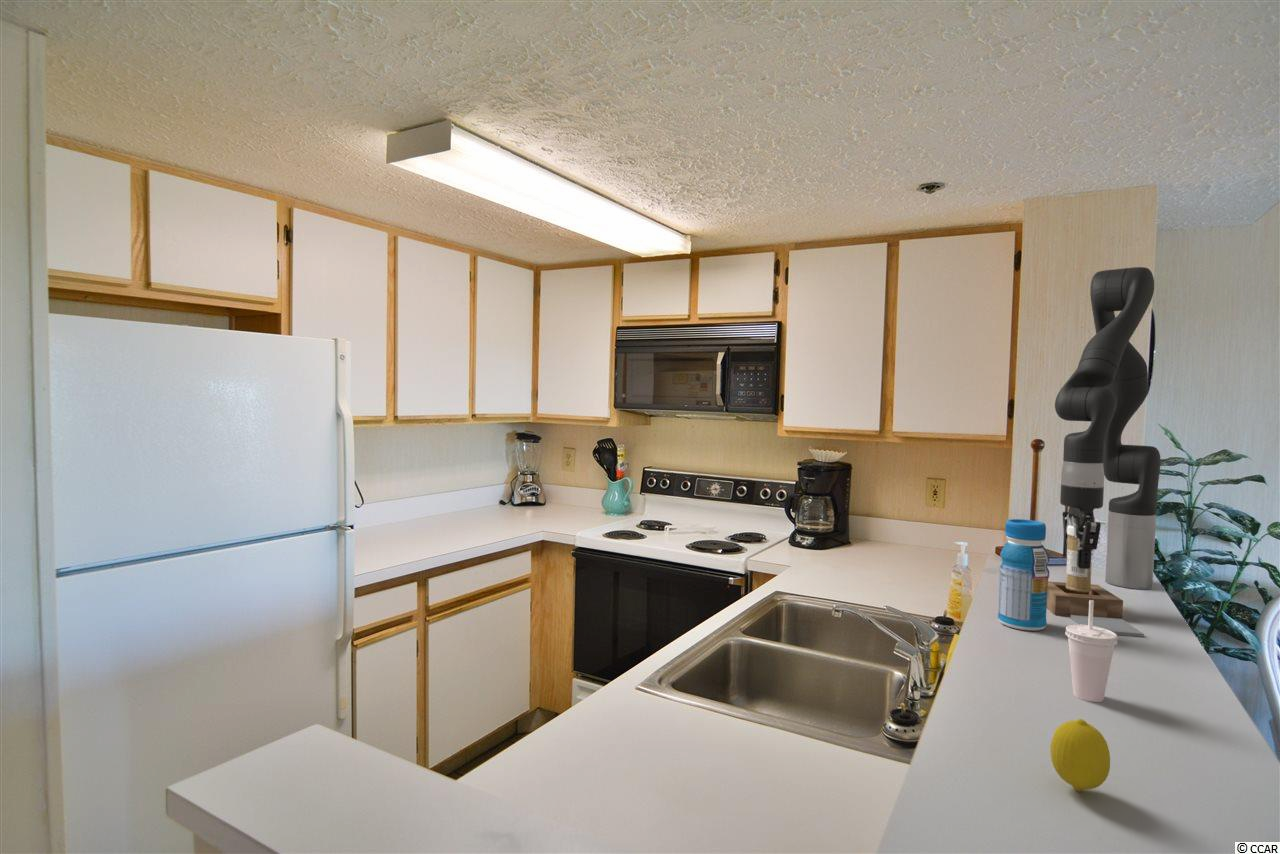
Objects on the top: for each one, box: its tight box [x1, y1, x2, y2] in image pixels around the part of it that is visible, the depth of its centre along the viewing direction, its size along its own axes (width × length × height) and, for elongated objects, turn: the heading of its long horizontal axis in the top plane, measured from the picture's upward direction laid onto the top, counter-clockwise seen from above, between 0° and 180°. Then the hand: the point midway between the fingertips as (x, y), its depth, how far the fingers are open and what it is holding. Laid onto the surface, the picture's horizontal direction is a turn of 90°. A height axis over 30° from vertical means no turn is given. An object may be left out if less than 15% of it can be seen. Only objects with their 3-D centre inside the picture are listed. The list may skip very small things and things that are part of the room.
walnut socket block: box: [1046, 580, 1124, 619], centre depth 144 cm, size 12×12×4 cm
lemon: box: [1050, 718, 1111, 793], centre depth 76 cm, size 6×6×8 cm
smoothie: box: [1064, 600, 1119, 703], centre depth 100 cm, size 6×6×14 cm
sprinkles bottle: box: [1065, 525, 1093, 593], centre depth 144 cm, size 5×5×14 cm
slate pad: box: [1070, 615, 1145, 638], centre depth 132 cm, size 9×9×1 cm
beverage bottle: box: [997, 518, 1050, 632], centre depth 133 cm, size 8×8×20 cm
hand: (1078, 564), depth 144 cm, fingers closed on sprinkles bottle, 4 cm apart
